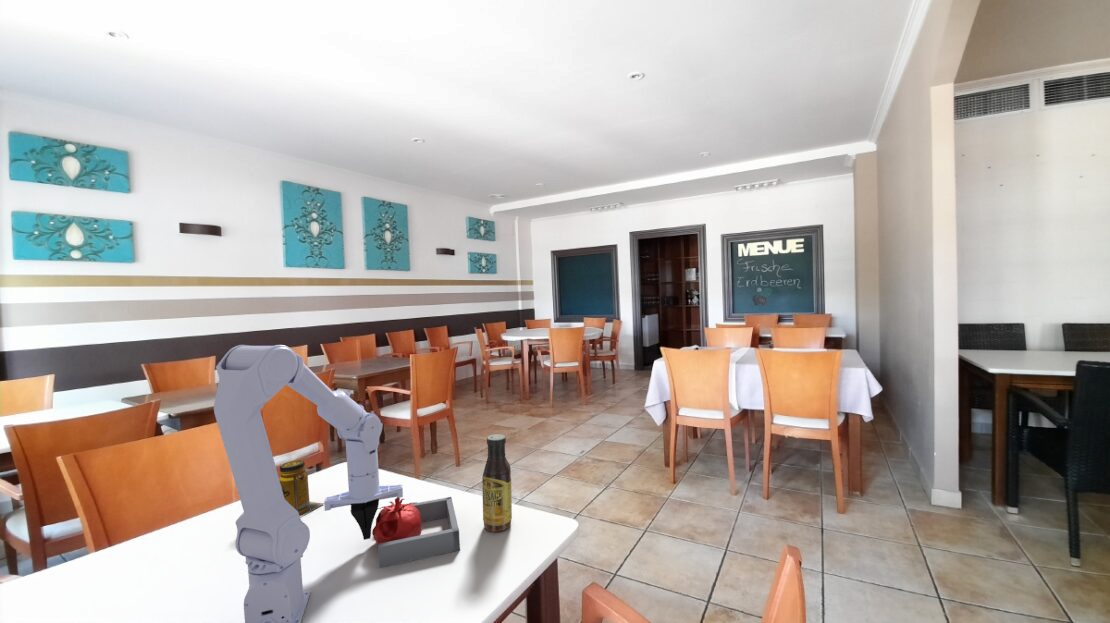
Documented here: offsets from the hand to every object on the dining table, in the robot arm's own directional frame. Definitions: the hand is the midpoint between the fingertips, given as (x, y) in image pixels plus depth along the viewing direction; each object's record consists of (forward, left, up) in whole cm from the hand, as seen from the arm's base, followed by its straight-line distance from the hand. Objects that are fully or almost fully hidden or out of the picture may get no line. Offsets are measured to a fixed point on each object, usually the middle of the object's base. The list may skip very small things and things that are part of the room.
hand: (367, 536), depth 91 cm
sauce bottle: (-2, -27, -3) cm, 27 cm away
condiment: (+25, +17, -3) cm, 31 cm away
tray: (0, -10, -2) cm, 10 cm away
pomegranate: (0, -6, -3) cm, 6 cm away
